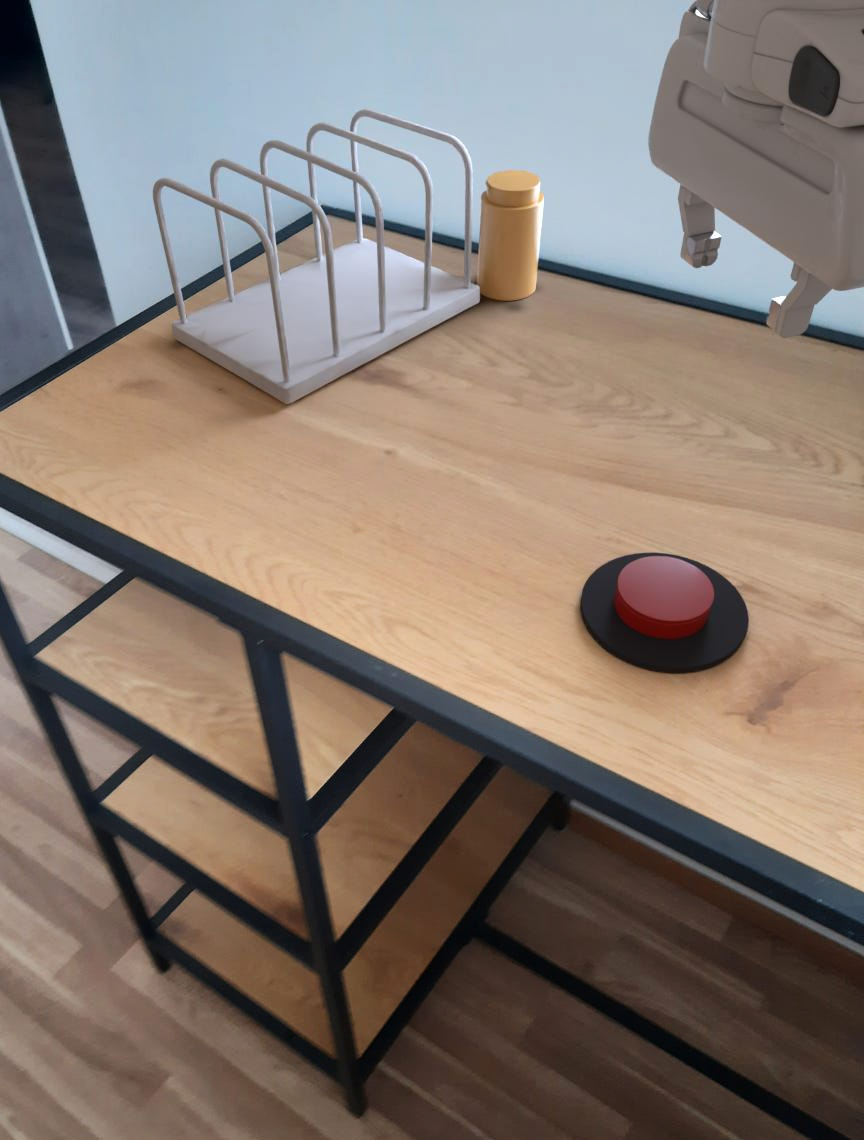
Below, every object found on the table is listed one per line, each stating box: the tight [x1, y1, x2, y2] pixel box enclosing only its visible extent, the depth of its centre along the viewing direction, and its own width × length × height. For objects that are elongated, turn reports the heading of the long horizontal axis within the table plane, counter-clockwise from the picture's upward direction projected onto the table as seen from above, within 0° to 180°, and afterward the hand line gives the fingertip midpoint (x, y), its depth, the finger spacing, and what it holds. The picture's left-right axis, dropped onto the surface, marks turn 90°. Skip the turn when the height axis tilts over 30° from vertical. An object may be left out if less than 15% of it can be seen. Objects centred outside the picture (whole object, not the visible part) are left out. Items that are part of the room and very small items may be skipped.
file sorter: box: [152, 108, 481, 405], centre depth 86 cm, size 25×17×16 cm
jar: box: [476, 169, 545, 302], centre depth 92 cm, size 6×6×10 cm
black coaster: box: [579, 552, 750, 674], centre depth 63 cm, size 11×11×1 cm
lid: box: [614, 556, 714, 639], centre depth 62 cm, size 6×6×2 cm
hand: (738, 294), depth 57 cm, fingers open, 8 cm apart
